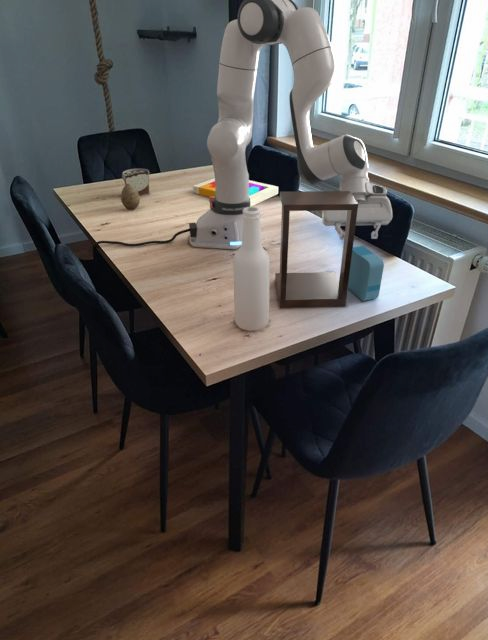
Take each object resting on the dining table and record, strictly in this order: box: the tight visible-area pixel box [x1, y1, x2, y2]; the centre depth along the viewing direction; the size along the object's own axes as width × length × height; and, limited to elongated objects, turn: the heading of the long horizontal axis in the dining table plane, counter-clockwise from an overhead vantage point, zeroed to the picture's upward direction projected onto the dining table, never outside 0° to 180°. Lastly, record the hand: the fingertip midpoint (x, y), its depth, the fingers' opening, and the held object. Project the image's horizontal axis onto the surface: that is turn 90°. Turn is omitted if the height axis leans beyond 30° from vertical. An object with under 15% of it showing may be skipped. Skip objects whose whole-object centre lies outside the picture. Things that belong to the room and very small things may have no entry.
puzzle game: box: [192, 177, 279, 207], centre depth 206 cm, size 30×3×30 cm
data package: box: [348, 245, 385, 302], centre depth 136 cm, size 12×4×12 cm, turn 22°
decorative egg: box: [120, 184, 141, 211], centre depth 190 cm, size 7×7×10 cm
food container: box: [121, 168, 151, 198], centre depth 204 cm, size 12×6×10 cm, turn 133°
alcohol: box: [232, 206, 271, 332], centre depth 117 cm, size 9×9×30 cm
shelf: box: [274, 190, 358, 309], centre depth 130 cm, size 18×16×28 cm
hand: (358, 238), depth 140 cm, fingers open, 8 cm apart
